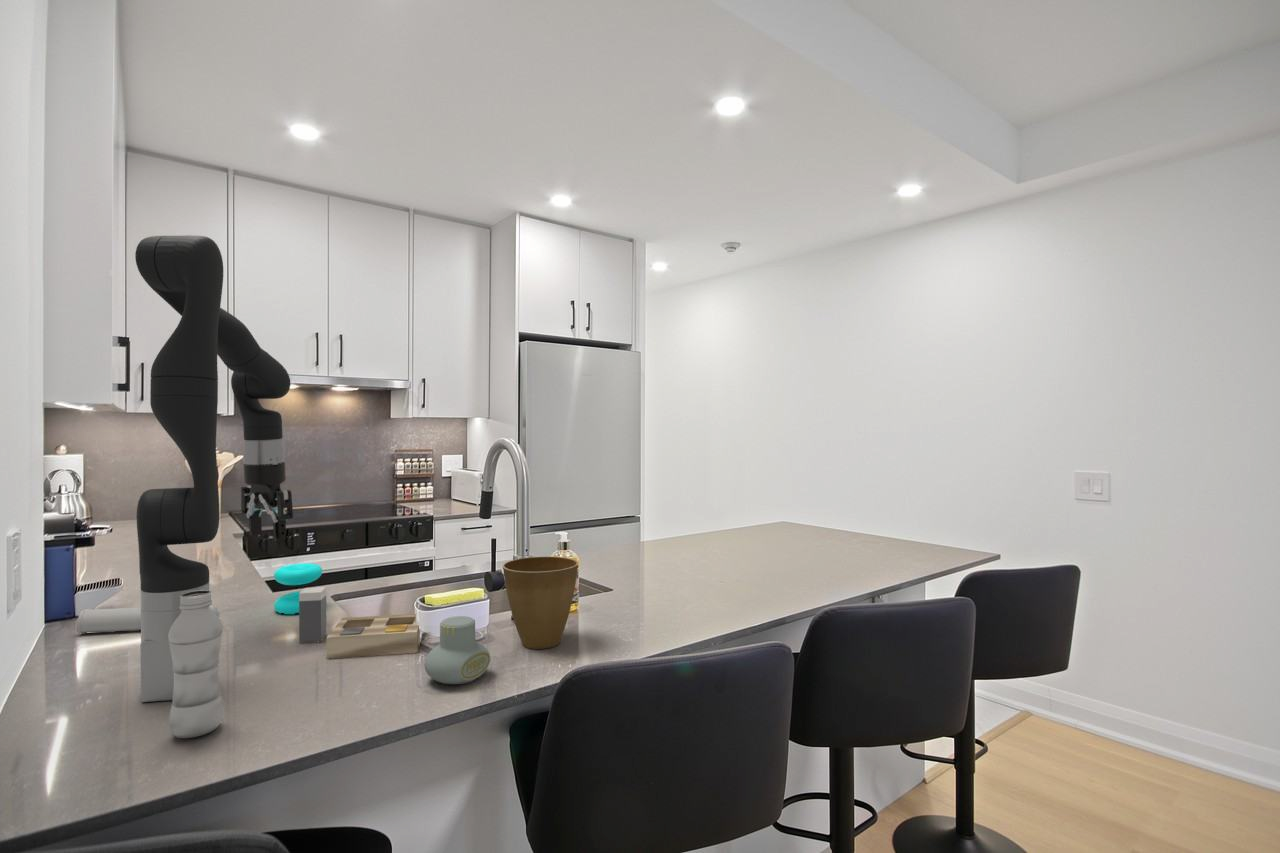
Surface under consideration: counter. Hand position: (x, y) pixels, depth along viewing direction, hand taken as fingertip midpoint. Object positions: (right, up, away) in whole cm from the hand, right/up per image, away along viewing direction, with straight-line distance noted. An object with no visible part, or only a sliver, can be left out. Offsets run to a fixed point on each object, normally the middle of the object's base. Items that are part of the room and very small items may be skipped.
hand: (267, 537), depth 138 cm
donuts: (-1, -20, +15) cm, 25 cm away
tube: (-25, -20, +1) cm, 32 cm away
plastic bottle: (+15, -21, -45) cm, 51 cm away
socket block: (+27, -20, -9) cm, 34 cm away
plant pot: (+59, -20, -7) cm, 62 cm away
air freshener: (+47, -20, -25) cm, 57 cm away
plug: (+12, -20, -5) cm, 24 cm away
